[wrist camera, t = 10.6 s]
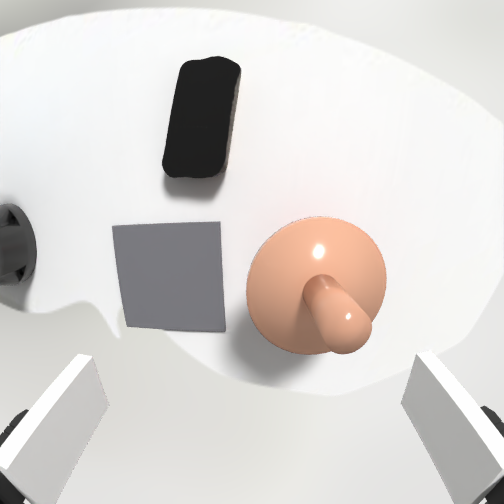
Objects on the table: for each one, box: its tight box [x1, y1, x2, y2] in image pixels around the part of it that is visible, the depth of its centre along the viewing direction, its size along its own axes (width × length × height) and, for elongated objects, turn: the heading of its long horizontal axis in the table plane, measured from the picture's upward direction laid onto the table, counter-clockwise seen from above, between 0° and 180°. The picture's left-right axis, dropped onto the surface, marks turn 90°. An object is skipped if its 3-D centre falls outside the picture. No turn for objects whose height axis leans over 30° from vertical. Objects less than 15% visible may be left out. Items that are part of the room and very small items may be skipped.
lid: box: [246, 216, 386, 355], centre depth 24 cm, size 14×14×9 cm
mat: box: [112, 222, 226, 331], centre depth 41 cm, size 16×16×1 cm
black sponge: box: [162, 56, 241, 178], centre depth 35 cm, size 16×8×4 cm, turn 172°
